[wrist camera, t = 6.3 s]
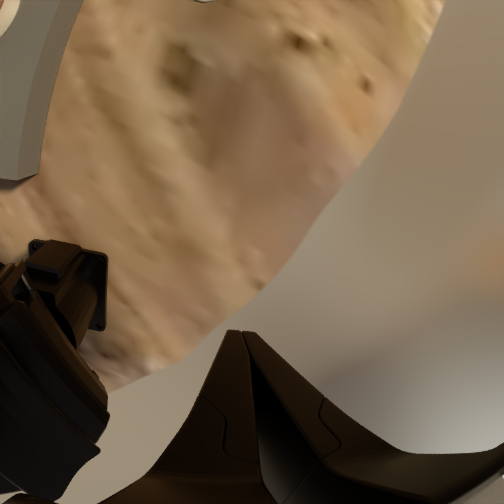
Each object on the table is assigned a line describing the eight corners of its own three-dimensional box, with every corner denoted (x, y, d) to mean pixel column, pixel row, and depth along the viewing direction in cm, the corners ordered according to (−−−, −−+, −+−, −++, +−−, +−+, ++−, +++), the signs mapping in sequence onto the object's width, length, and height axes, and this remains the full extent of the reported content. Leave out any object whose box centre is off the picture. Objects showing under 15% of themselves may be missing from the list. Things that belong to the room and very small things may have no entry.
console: (38, 173, 16) (14, 181, 13) (-59, 162, 14) (-83, 169, 11) (131, -85, 9) (125, -106, 6) (17, -63, 7) (2, -76, 3)
